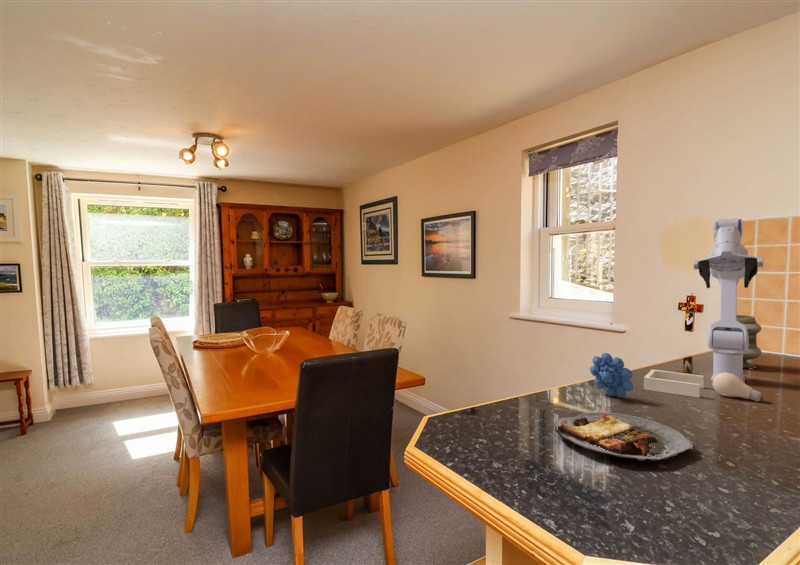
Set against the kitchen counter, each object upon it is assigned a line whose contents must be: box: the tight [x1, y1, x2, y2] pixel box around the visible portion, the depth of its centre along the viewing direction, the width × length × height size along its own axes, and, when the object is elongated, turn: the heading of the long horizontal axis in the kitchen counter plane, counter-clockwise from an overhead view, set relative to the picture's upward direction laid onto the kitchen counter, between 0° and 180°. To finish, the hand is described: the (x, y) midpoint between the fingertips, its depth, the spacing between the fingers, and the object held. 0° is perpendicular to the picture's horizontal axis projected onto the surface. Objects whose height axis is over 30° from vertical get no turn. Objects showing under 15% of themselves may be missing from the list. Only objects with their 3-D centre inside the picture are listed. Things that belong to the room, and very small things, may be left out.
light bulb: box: [712, 372, 763, 403], centre depth 111 cm, size 7×7×11 cm
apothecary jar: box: [737, 314, 762, 368], centre depth 146 cm, size 12×12×18 cm
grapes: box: [589, 352, 634, 399], centre depth 114 cm, size 12×7×12 cm, turn 39°
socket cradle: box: [643, 368, 705, 399], centre depth 121 cm, size 12×13×4 cm
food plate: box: [553, 411, 694, 462], centre depth 85 cm, size 25×23×4 cm
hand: (726, 285), depth 106 cm, fingers open, 7 cm apart
